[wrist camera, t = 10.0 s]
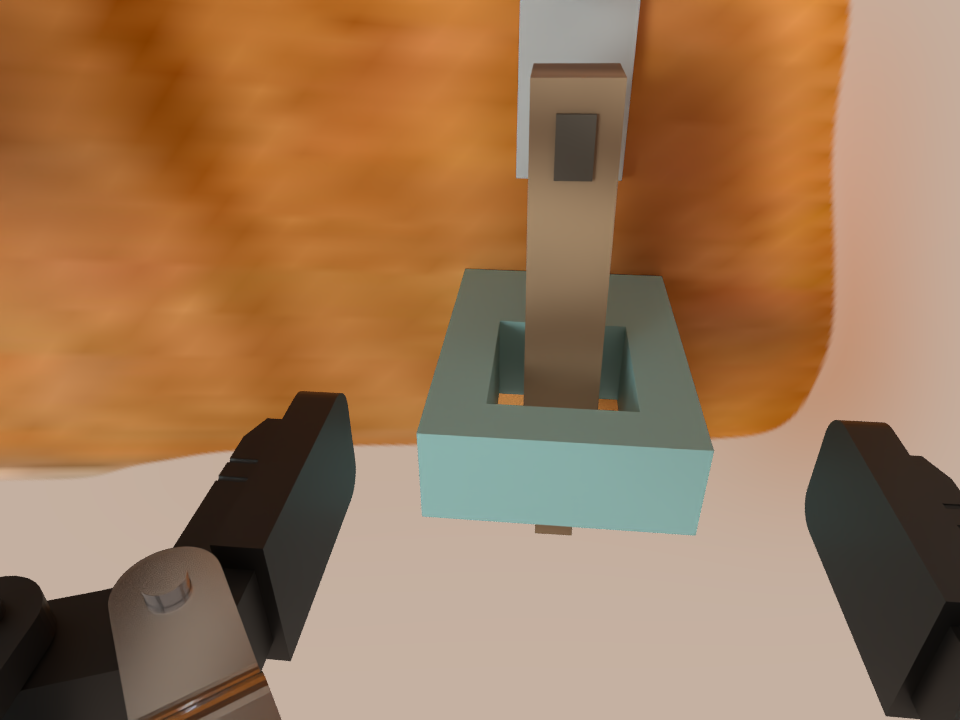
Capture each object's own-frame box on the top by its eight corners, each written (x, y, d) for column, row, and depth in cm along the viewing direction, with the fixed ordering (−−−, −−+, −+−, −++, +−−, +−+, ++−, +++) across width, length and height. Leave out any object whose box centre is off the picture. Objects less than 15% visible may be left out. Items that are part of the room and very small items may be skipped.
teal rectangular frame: (465, 268, 32) (416, 433, 21) (661, 276, 31) (714, 451, 20) (466, 334, 34) (422, 516, 23) (652, 342, 33) (695, 535, 22)
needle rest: (524, -143, 24) (515, -161, 19) (653, -145, 23) (673, -164, 19) (516, 174, 29) (509, 213, 25) (620, 176, 29) (630, 217, 25)
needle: (533, 63, 22) (529, 78, 20) (620, 63, 22) (628, 78, 20) (523, 498, 32) (520, 544, 30) (583, 501, 32) (585, 549, 30)
